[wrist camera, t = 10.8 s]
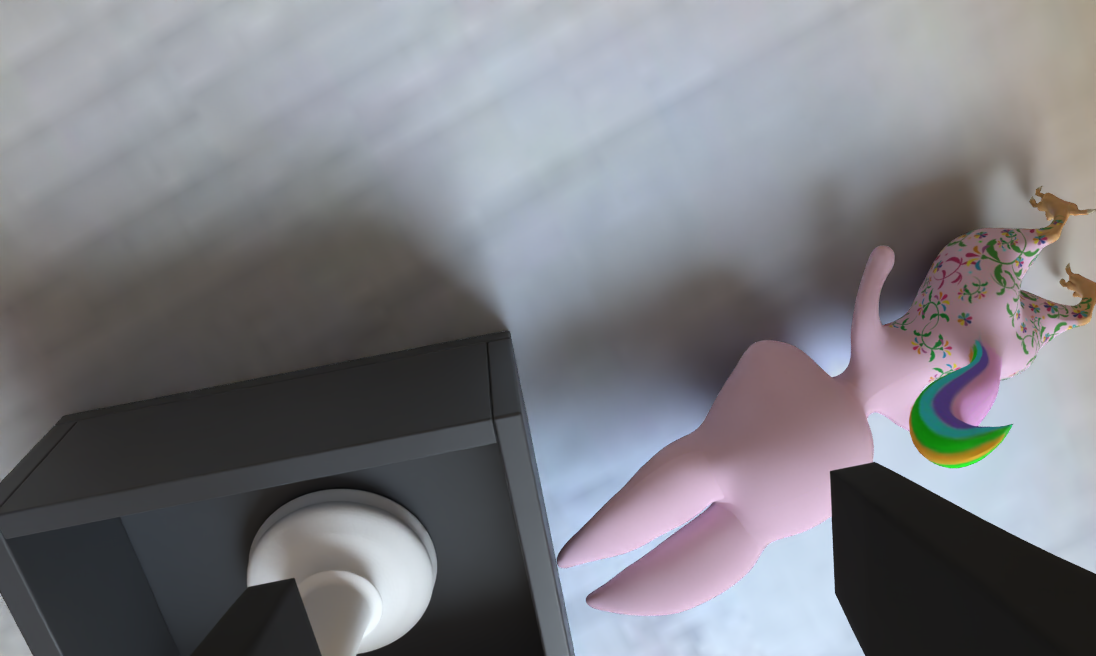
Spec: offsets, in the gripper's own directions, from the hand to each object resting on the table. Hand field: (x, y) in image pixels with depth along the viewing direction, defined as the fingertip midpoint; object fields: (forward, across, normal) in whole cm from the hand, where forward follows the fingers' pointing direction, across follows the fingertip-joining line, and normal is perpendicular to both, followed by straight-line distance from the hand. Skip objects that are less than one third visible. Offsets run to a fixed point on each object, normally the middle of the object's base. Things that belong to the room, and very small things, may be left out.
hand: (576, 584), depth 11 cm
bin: (+10, +6, +6) cm, 13 cm away
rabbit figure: (+11, -7, +3) cm, 13 cm away
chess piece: (+10, +6, +6) cm, 13 cm away
